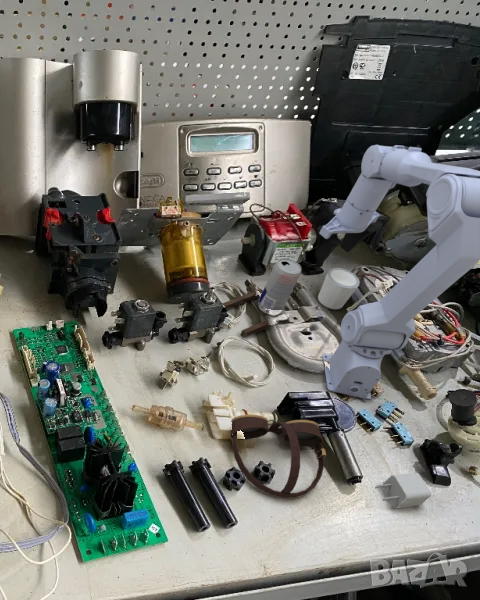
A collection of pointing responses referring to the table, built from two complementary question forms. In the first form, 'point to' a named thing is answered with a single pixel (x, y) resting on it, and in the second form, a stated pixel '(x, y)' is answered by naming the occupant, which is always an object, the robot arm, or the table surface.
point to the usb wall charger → (405, 490)
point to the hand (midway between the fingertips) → (332, 253)
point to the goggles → (292, 433)
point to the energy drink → (280, 284)
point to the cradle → (245, 299)
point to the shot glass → (337, 288)
